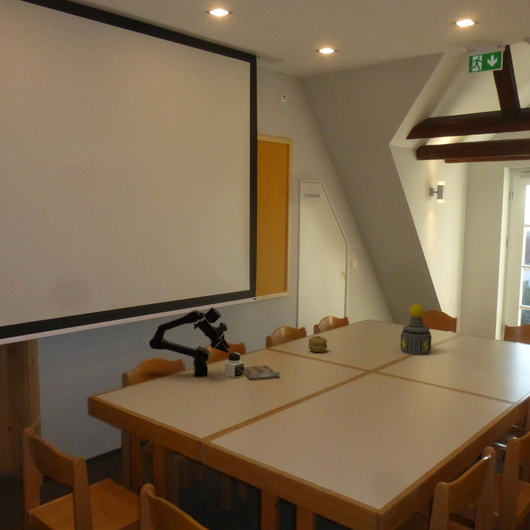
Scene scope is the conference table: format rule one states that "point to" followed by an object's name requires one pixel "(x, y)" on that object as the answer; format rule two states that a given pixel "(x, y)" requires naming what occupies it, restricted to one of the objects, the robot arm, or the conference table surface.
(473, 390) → the conference table surface
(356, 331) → the conference table surface
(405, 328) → the decorative lamp
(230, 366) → the medicine bottle
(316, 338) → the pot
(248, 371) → the shelf board
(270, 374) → the price rail
